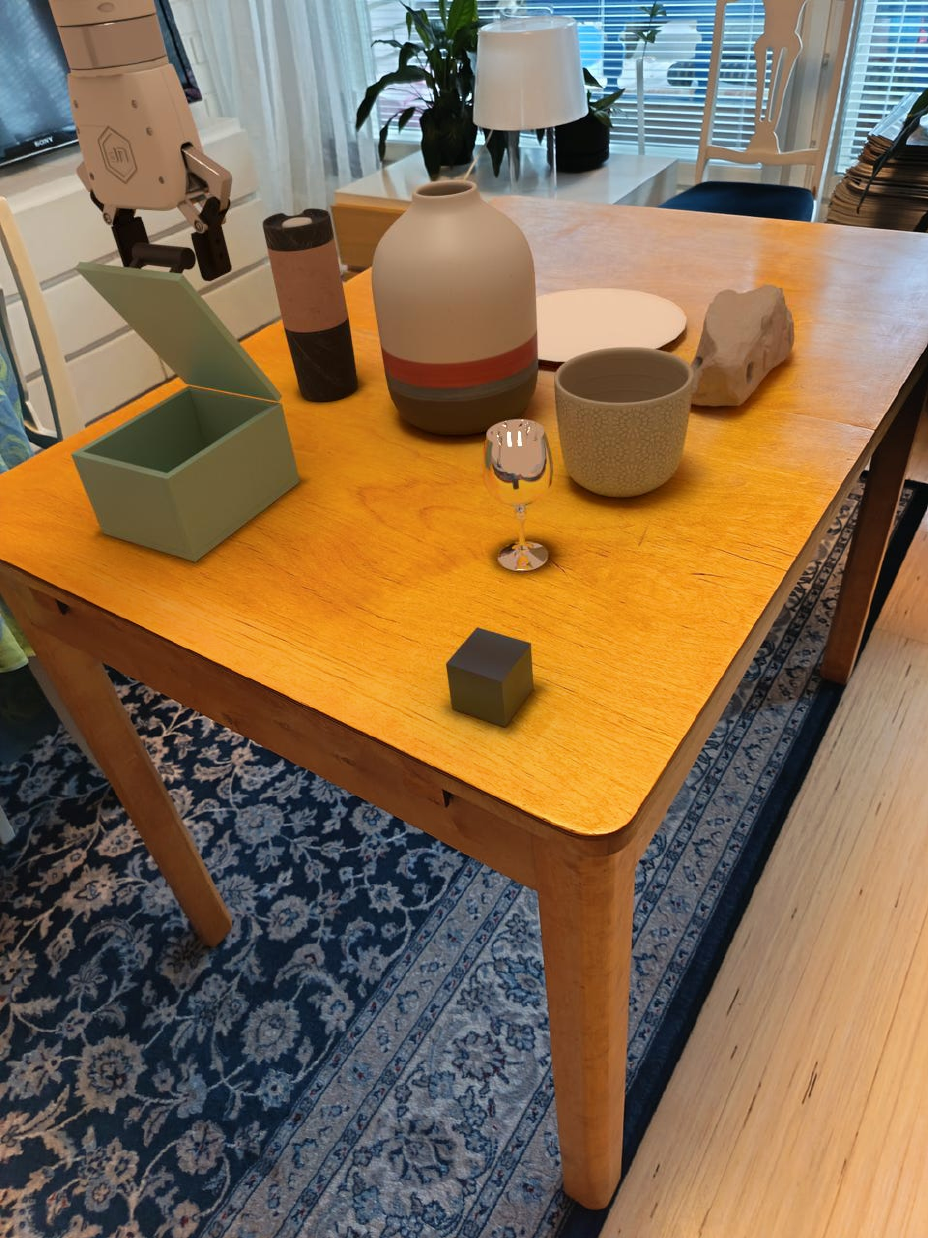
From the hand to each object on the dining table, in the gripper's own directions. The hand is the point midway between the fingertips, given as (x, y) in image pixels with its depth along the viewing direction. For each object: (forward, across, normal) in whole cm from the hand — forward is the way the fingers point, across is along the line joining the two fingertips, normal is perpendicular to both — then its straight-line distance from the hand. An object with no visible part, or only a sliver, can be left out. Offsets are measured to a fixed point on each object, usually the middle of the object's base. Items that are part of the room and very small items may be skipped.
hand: (178, 271), depth 81 cm
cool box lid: (+6, 0, -2) cm, 6 cm away
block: (+22, +40, -17) cm, 49 cm away
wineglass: (+22, +34, 0) cm, 40 cm away
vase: (+22, +14, +23) cm, 35 cm away
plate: (+22, +18, +48) cm, 56 cm away
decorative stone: (+22, +40, +40) cm, 60 cm away
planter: (+22, +36, +15) cm, 45 cm away
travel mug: (+22, -5, +22) cm, 32 cm away
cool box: (+22, 0, -5) cm, 22 cm away
